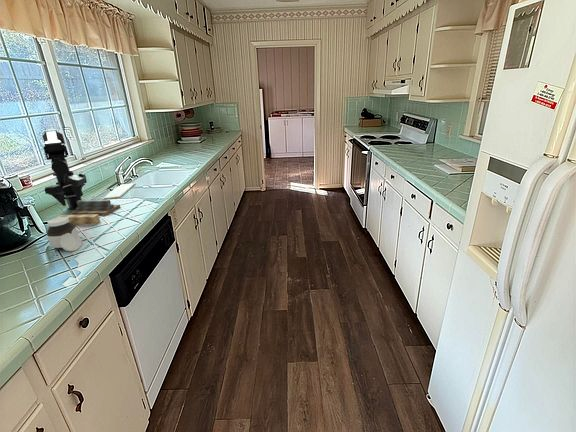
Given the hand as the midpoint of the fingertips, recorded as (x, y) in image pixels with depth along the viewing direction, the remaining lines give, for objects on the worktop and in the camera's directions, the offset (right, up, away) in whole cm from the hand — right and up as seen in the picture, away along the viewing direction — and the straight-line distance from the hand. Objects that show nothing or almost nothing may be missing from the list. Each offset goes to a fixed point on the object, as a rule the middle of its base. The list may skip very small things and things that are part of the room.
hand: (72, 202), depth 149 cm
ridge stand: (0, -4, +19) cm, 19 cm away
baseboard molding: (-7, +9, +54) cm, 55 cm away
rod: (+1, -10, +4) cm, 11 cm away
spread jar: (+14, -19, -22) cm, 32 cm away
